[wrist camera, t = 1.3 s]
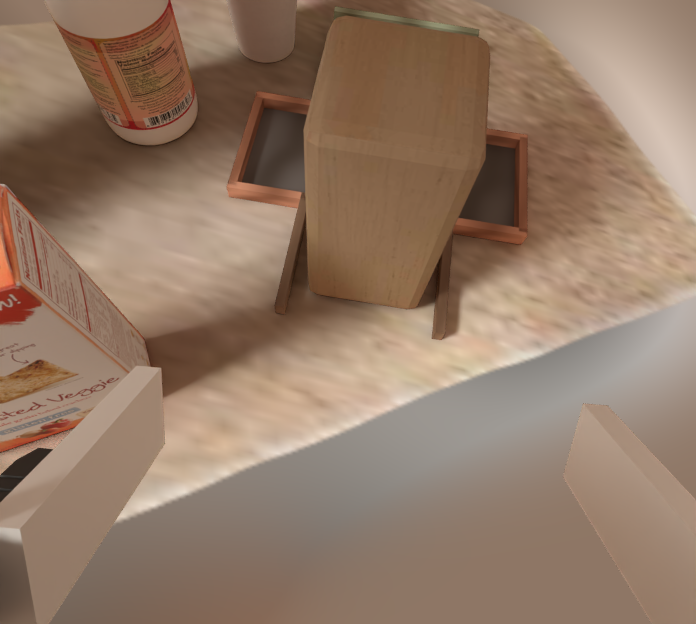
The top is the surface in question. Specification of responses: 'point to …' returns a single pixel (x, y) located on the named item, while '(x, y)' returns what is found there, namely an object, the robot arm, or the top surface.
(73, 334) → the cracker box
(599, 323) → the top surface
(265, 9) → the coffee cup
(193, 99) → the fruit juice
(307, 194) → the wooden block
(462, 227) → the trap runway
